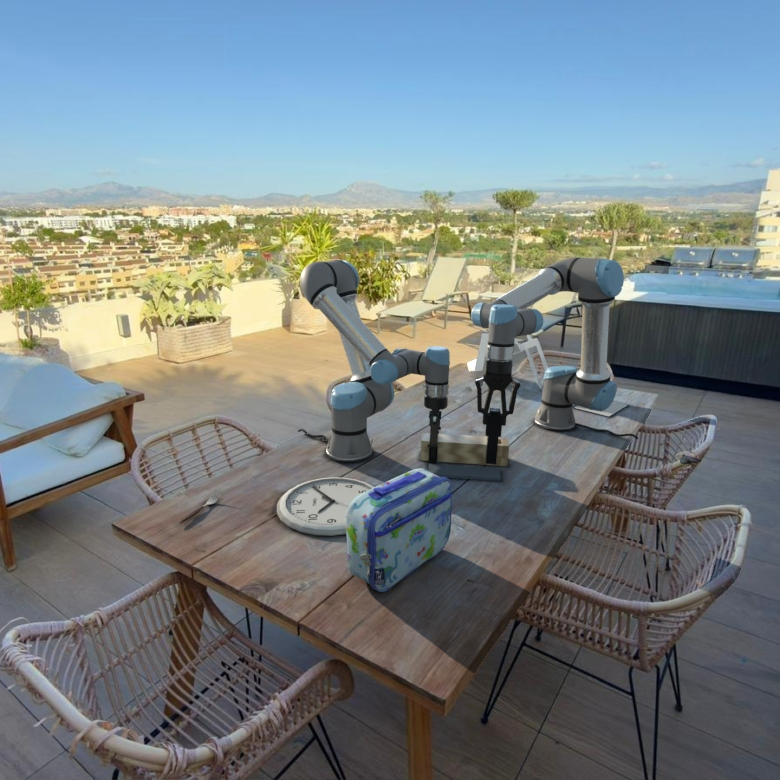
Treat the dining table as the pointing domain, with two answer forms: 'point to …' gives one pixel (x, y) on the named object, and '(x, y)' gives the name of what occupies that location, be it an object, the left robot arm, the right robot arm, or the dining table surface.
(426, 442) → the wooden block
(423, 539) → the lunch box
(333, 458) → the left robot arm
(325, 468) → the dining table surface
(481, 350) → the white plastic object
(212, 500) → the fork
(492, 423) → the peg
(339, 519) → the wall clock
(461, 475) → the mat
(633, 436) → the right robot arm
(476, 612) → the dining table surface
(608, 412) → the invitation card
